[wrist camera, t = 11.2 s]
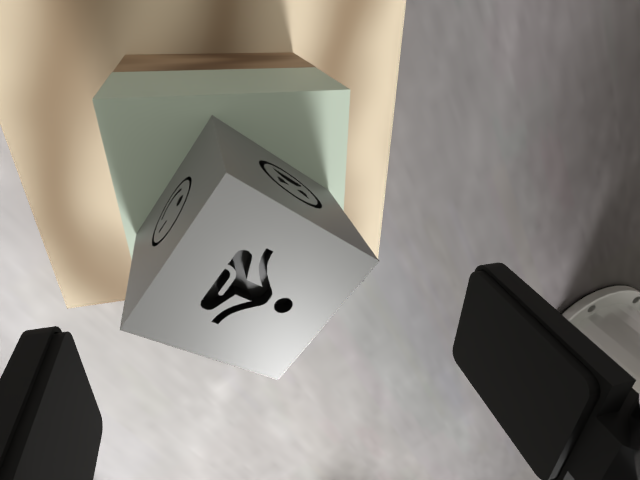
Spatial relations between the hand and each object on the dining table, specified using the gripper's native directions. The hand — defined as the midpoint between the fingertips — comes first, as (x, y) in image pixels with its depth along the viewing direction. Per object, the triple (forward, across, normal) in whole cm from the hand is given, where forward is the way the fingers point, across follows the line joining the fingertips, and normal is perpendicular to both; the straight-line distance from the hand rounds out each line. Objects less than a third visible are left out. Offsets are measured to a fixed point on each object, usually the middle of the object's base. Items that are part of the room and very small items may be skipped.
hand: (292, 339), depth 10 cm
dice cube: (+7, +1, 0) cm, 7 cm away
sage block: (+11, +1, 0) cm, 11 cm away
